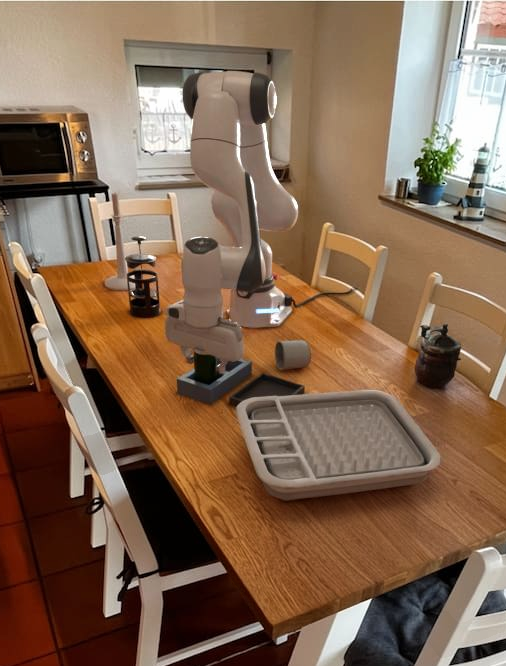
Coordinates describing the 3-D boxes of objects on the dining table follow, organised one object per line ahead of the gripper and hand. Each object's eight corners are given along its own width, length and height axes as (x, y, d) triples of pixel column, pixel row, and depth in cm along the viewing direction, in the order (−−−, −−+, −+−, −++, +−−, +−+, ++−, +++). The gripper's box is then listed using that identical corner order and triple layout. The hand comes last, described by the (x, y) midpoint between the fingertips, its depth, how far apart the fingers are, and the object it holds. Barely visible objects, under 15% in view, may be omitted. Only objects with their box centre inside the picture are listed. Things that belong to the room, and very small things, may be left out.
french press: (165, 316, 181) (160, 241, 169) (134, 320, 177) (127, 243, 164) (154, 303, 189) (148, 230, 177) (124, 306, 185) (117, 232, 173)
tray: (262, 379, 151) (262, 372, 150) (304, 393, 147) (304, 385, 146) (229, 404, 139) (229, 396, 138) (273, 419, 135) (273, 411, 134)
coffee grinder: (395, 385, 154) (406, 320, 144) (422, 367, 164) (433, 305, 154) (439, 402, 147) (453, 336, 138) (463, 382, 158) (478, 319, 148)
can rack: (220, 365, 156) (220, 351, 154) (251, 375, 153) (252, 361, 150) (177, 393, 142) (176, 378, 140) (210, 404, 139) (210, 389, 137)
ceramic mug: (312, 371, 157) (314, 344, 153) (283, 375, 154) (284, 348, 150) (296, 354, 165) (297, 329, 161) (269, 358, 162) (270, 332, 158)
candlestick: (96, 283, 201) (84, 191, 185) (126, 275, 210) (117, 186, 194) (121, 293, 195) (111, 198, 179) (151, 284, 204) (144, 193, 188)
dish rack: (445, 497, 115) (453, 464, 111) (261, 523, 105) (262, 488, 101) (383, 414, 140) (388, 384, 136) (231, 429, 130) (230, 398, 126)
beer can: (200, 397, 141) (199, 352, 135) (191, 388, 145) (189, 343, 138) (221, 393, 144) (220, 348, 137) (211, 383, 147) (210, 339, 141)
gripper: (249, 319, 132) (249, 374, 139) (176, 299, 139) (179, 352, 147) (234, 328, 127) (234, 384, 135) (159, 306, 134) (163, 361, 142)
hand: (205, 367), depth 141 cm, fingers open, 8 cm apart
